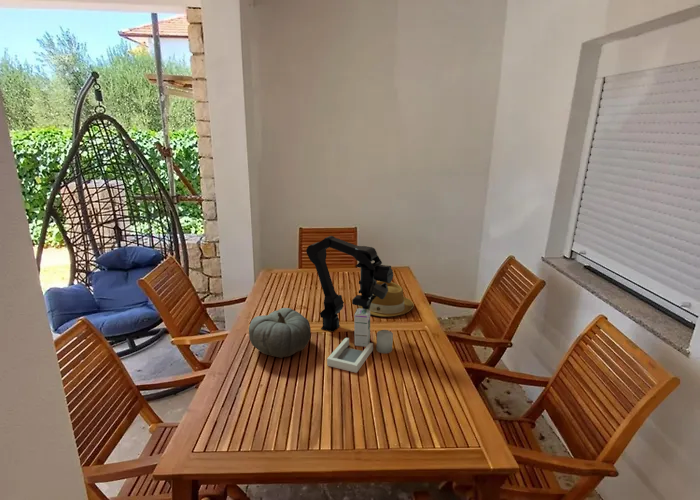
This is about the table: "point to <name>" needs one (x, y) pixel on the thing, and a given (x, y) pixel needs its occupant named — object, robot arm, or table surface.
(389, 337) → the grey rounded dome
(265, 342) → the gourd
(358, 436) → the table surface
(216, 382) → the table surface
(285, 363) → the table surface
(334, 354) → the cradle
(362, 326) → the syrup box
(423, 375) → the table surface
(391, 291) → the fedora
